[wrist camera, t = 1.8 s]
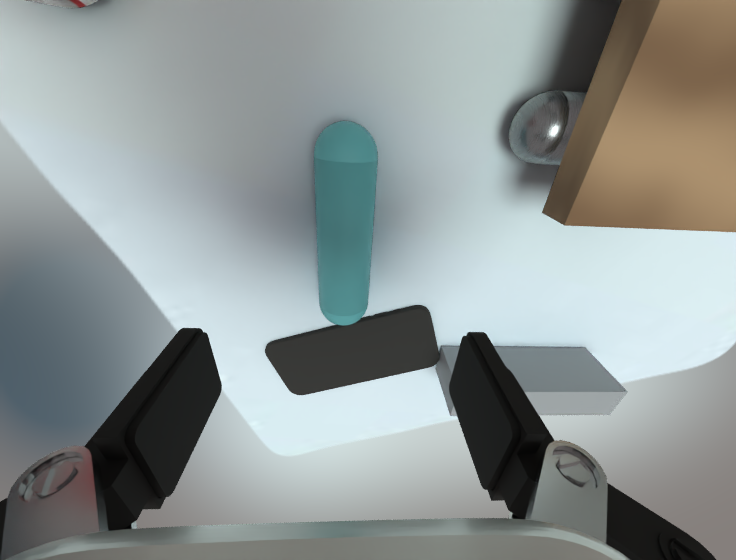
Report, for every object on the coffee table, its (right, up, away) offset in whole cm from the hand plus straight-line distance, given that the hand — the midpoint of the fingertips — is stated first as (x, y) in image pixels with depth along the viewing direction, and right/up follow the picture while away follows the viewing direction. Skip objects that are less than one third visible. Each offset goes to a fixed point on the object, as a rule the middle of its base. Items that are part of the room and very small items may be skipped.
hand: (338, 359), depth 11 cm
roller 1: (-1, +7, +10) cm, 12 cm away
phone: (0, -3, +16) cm, 17 cm away
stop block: (+15, -5, +17) cm, 23 cm away
